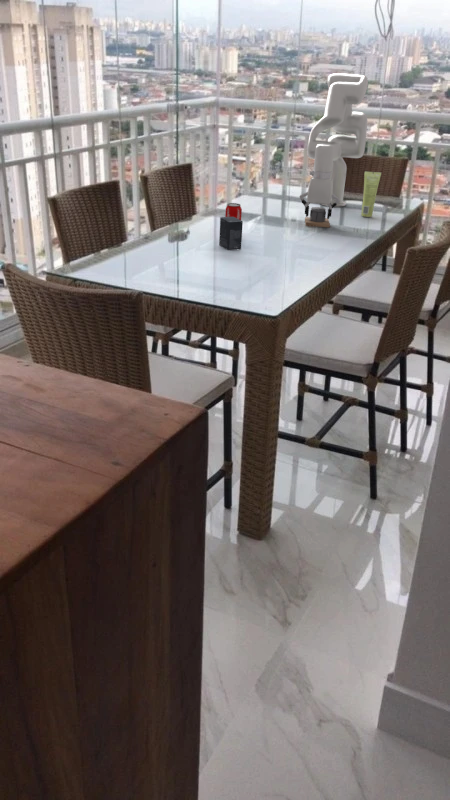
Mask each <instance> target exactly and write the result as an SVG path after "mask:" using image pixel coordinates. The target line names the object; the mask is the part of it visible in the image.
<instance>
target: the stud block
mask: <svg viewBox="0 0 450 800" xmlns="http://www.w3.org/2000/svg"><path fill="white" fill-rule="evenodd" d="M304 223H305V227H315V228H316V227H317V228H318V227H319V228H330V226H331V225H330V224H331V223H330V220H329V219H327V217H325V221H324V222H313V221H310V216H308V217H306V216H305V217H304Z"/></svg>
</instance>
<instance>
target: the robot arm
mask: <svg viewBox="0 0 450 800" xmlns="http://www.w3.org/2000/svg"><path fill="white" fill-rule="evenodd" d="M326 82H327V87H328V93H327V97H326V101H325V108H324V113H323V117H321V118H320V119H319V120H318V121H317V122H316V123H315V124H314V126H313V127H312V128H311V130H310V131H309V132H310V133H309V136H308V142H307V145H306V155H307V157H308V158H309V159H312V160H314V161H313V162H314V163H313V170H310V171H309V175H310V176H312V177H311V178H310V180H309V184H308V187H307V191H306V192H304V193H302V194H300V195H299V199H300V201H301V203H302V205H303V206H304V215H305V217H309V215H310V213H309V212H310V206H309V205H310V204H315V205H316V204H317V205H320V206H321V205H322V206H326V207H328V209H327V214H326V215H327V217H326V218H327V219H328V220H329V219H330V217H332V213H333V212H332V210H333V209H334V208H338V207H339V208H341V207H345V206H346V204H347V202H346V201H344V193H345V184H346V179H347V178H346V177H347V169H348V168H347V167H348V166H347V164H346V162H345V160H344V158H350V159H359V158H362V157H363V156H364V154H365V150H366V140H367V130H368V116H367V114H366V113H365V112H362V111H353V105H354V106H355V105H357V106H358V105H361V103H362V101H363V100H364V98H365V95H366V93H367V91H368V85H369V81H368V77H367V76H366V75H364V74H355V73H341V72H337V73H334V72H333V73H331V74H329V75H328V76H327V81H326ZM330 128H331V129H332V131H333V132H335V133H339V134H333V135H331V136H330V137H328V139H327V140H317V137H318V135H320V134H321V133H322V132H324V131H327V130H328V129H330ZM345 134H346V135H345ZM348 134H350V135H348ZM305 197H306V199H305Z"/></svg>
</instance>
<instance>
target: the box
mask: <svg viewBox="0 0 450 800" xmlns="http://www.w3.org/2000/svg"><path fill="white" fill-rule="evenodd" d="M242 237H243V220H242V219H241V220H239V219H237V218H235V217H225V216H221V217H220V218H219V240H218V242H219V243H218V245H219V246H220V247H222V248H223V249H226V250H227V251H237V249H239V250H242V242H243V240H242V239H243V238H242Z"/></svg>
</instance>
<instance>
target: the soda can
mask: <svg viewBox="0 0 450 800" xmlns="http://www.w3.org/2000/svg"><path fill="white" fill-rule="evenodd" d="M242 212H243V211H242V206H241V204H240V203H235V202H228V203H227V205H226V206H225V214H224V215H225V216H224V217H235V218H237V219H239V220H241V221H242V215H243V214H242Z"/></svg>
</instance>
